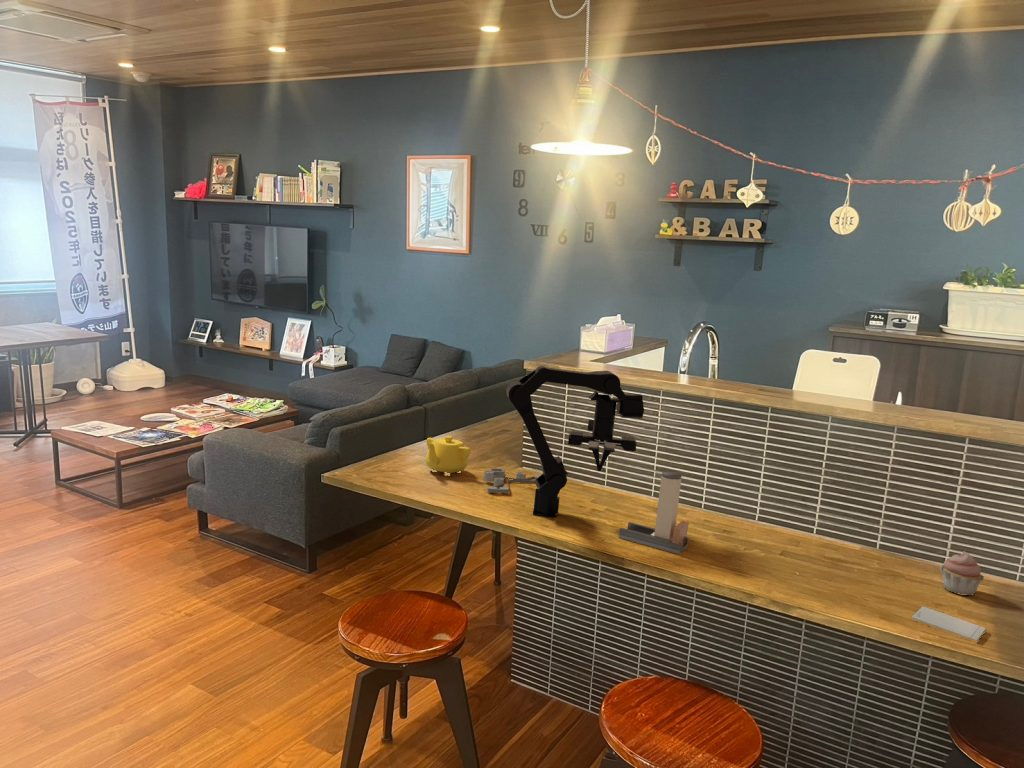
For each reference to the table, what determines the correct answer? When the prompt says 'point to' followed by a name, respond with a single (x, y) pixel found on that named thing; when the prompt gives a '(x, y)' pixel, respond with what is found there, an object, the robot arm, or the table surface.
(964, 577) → the cupcake
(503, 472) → the pulley system
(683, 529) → the rail
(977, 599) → the table surface
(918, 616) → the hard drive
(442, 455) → the teapot
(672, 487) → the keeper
